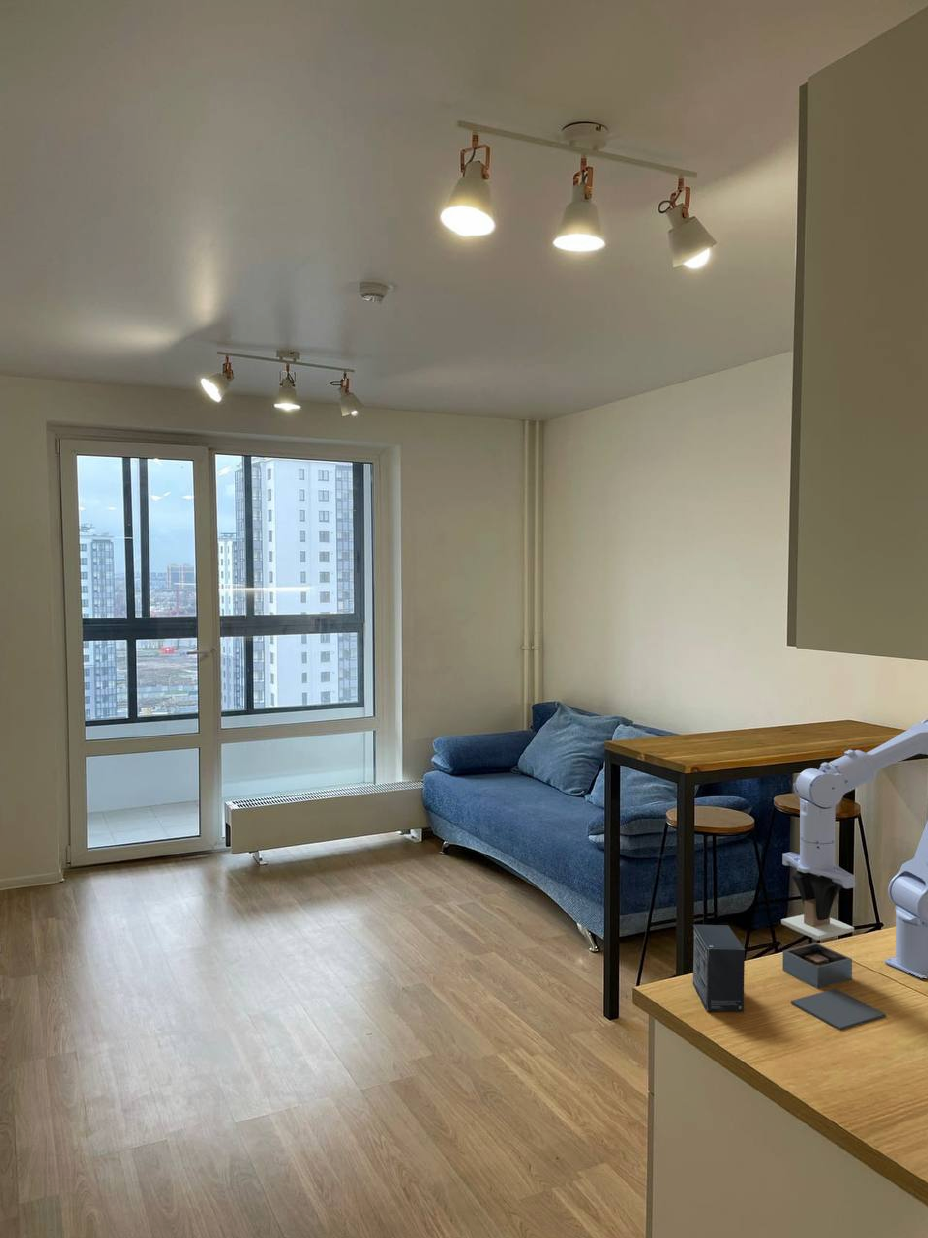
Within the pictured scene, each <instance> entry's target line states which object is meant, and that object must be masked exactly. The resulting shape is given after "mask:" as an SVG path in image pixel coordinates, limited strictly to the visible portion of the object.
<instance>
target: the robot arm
mask: <svg viewBox="0 0 928 1238" xmlns="http://www.w3.org/2000/svg"><path fill="white" fill-rule="evenodd" d="M843 753H844V755H842V756H841V757H839V758H836V759H834V760H832V761H830V762H825V761H824V762H822V763H821V764H820V767H819V768H818V769H817V768H813V767H812V768H811V767H810V768H806V769H804V770H803V771H801V772H800V773H799V775H797V778H796V780H795V783H793V786H792V787H793V790H794V792H795V794H796V795H797V796H798V799H799V806H800V807H799V811H800V812H799V816H800V817H799V821H800V822H799V854H798V853H797V854H796V853H794V852H786V853H782V854H781V855H782V861H781V863H782V865H783V866H786V867H787V866H790V867H792V868H796V870H797V871H796V872H793V873H792V874H791V878H792V880H793V882H794V883H795V885H796V887H797V889H798V892H799V894H800V896H801V900H802V903H803V905H804V901H805V900H810V899H815V900H816V915H817V919H818V920H825V919H829V915H830V916H831V911H832V907H833V905H834V902H835V899H836V897H837V895H838V893H839V892H840V890H841V888H844V889H851V888H852V889H853V888H855V887H856V875H854V874H852V873H850V872H848V871H846V870H845V869H844V868H841V867H840V866H839V865H837V864H836V806H837V805H838V804H839V803H841V801H842V798H843V796H844V795H845V794H847V793H850V792H852V791H854V790H856V789H857V788H860V787H862V786H864V785H865V784H866V785H867V784H869V783H870V782H873V781H875V779H876V777H877V774H878V771H880V770H882V769H884V768H886V767H889V766H891V765H894V764H896V763H898V762H901V761H904V760H906V759H909V758H911V757H913V756H916V755H920V754H922V755H928V717H927V718H925V719H924V720H922V721H921V722H919V721H918V722H915V723H913V724H912V726H911V727H910V728H909V729H907V730H906V731H903V732H902V733H900V734H898V735H896V736H895V737H892V738H891V739H890V740H887V741H886V742H884V743H882V744H880V745H878V746H877V747H874V748H872V749H871V750H869V751H867V752H866V751H863V750H860V749H856V750H853V749H848V750H845V751H844V752H843ZM887 893H888V897H889V899H890V901H891V902H892V903H893V904H894V911H895V912H896V913H895V914H896V920H895V921H896V922H895V933H896V934H895V957H889V958H886V959H884V963H885V964H886V965H889V966H891V967H894V968H896V969H898V970H900V971H903V972H905V973H907V974H909V973H911V974H913V975H915V976H914V977H916V976H918V977H921V978H925V977H928V819H927V821H926V824H925V827H924V829H923V832H922V835H921V837H920V841H919V842H918V845H917V848H916V851H915V853H914V856H913V858H912V859H910V860H908V861H905V862H904V863H902V864H901V866H900V869H899V871H898V872H897V874H895V876H894V877H893V878H892V879H891V880H890V882H889V884H888V888H887ZM911 974H910V975H911ZM913 975H912V976H913ZM923 975H925V976H923ZM918 977H917V978H918Z"/></svg>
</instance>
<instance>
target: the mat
mask: <svg viewBox="0 0 928 1238" xmlns="http://www.w3.org/2000/svg"><path fill="white" fill-rule="evenodd" d="M791 1004H792V1005H793V1006H795V1007H797V1008H799V1009H800V1010H802V1011H804V1012H805V1013H807V1014H809V1015H811V1016H812V1017H815V1018H816V1019H818V1020H819V1021H821V1022H823V1023H825V1024H827V1025H829V1026H831V1027H833V1028H834V1029H836V1030H838V1031H842V1030H847V1029H849V1028H853V1027H855V1026H858V1025H862V1024H866V1023H869V1022H872V1021H876V1020H879V1019H882V1018H885V1017H887V1014H886V1013H885V1012H883V1011H881V1010H879V1009H878V1008H876V1007H873V1006H871V1005H870V1004H867V1003H866V1002H863V1001H861V1000H860V999H857V998H856V997H854V996H852V995H850V994H848V993H845V992H843V991H841V990H839V989H838V988H831V989H829V990H825V991H821V992H817V993H815V994H811V995H808V996H804V997H800V998H797V999H793V1000H790V1005H791Z"/></svg>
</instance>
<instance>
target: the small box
mask: <svg viewBox="0 0 928 1238" xmlns="http://www.w3.org/2000/svg"><path fill="white" fill-rule="evenodd" d="M692 929H693V931H692V932H693V954H692V955H693V956H692V957H693V961H692V964H693V965H692V985H693V987H694V989H695V991H696V993H697V995H698V997H699V999H700V1002H701V1003H702V1005H703V1007H704V1010H705V1011H706V1012H736V1013H737V1012H741V1013H742V1012H745V967H746V966H745V965H746V964H745V963H746V962H745V961H746V959H745V958H746V948H745V947H744V945H743V944H742V943H741V941H740V940H739V939H738V937H737V936H736V934H735V933H734V932H733V930H732V929H731V927H730V926H729V925H728V924H727V925H724V924H721V925H720V924H719V925H718V924H717V925H716V924H693V928H692Z"/></svg>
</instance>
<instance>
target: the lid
mask: <svg viewBox="0 0 928 1238" xmlns="http://www.w3.org/2000/svg"><path fill="white" fill-rule="evenodd" d="M803 907H804V908H803V913H804V914H798V915H794V916H790V917H786V918H782V919H780V924H781V925H784V926H786V927H788V928H790V929H791V930H794V931H796V932H798V933H801V934H803V935H805V936H807V937H809V938H811V939H814V940H815V941H822V940H825V939H830V938H834V937H837V936H842V935H845V934H850V933H853V932H855V927H854V926H851V925H849V924H847V923H844V922H842V921H840V920H837V919H835V918H833V917H831V914H830V915H829V919H825V920H818V919H817V915H816V900H815V899H810V900H805V901H804V904H803Z"/></svg>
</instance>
